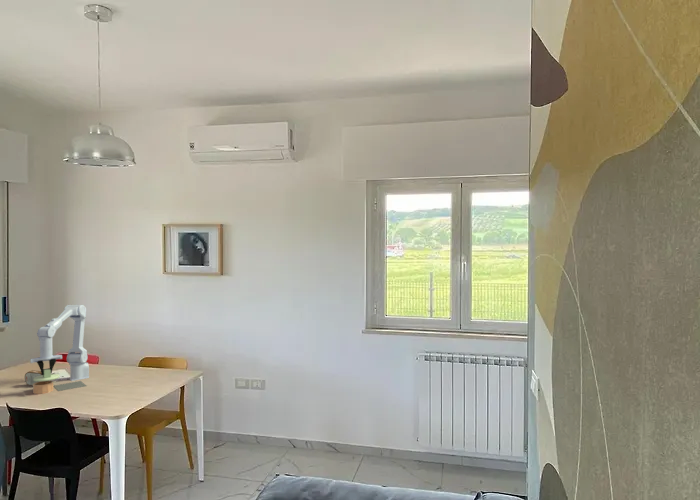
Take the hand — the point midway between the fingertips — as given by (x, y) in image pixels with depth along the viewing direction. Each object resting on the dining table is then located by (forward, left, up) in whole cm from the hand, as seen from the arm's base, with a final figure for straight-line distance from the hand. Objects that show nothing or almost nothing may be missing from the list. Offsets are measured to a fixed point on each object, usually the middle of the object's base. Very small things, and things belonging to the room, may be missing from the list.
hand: (46, 374), depth 259 cm
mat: (-11, -2, -10) cm, 15 cm away
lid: (0, 0, -2) cm, 2 cm away
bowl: (+2, 0, -10) cm, 10 cm away
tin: (+2, -17, -10) cm, 20 cm away
